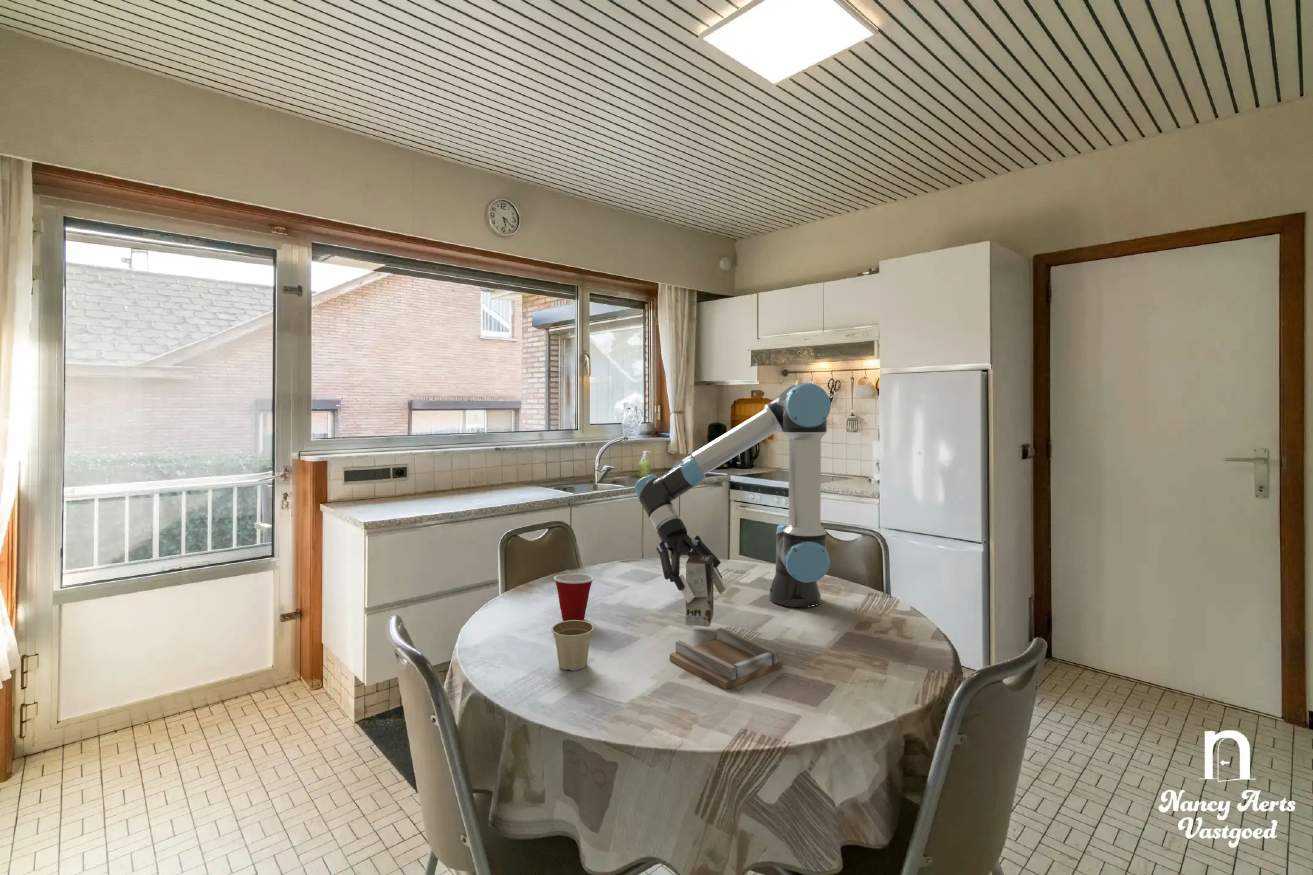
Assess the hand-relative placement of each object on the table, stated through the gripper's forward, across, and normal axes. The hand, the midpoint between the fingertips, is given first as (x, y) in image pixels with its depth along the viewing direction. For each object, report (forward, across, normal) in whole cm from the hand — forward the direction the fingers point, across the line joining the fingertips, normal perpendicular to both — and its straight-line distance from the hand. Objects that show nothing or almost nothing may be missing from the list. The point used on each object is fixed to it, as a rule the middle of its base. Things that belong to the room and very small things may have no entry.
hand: (707, 595), depth 155 cm
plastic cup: (-14, +22, -28) cm, 38 cm away
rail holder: (+18, +9, +4) cm, 20 cm away
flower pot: (+4, +37, -10) cm, 38 cm away
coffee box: (+3, 0, -7) cm, 8 cm away
